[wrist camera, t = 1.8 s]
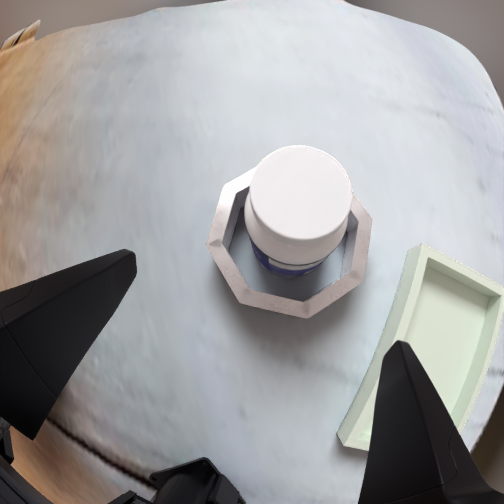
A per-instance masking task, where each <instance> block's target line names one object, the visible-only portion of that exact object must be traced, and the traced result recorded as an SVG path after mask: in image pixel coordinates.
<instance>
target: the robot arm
mask: <svg viewBox="0 0 504 504" xmlns="http://www.w3.org/2000/svg"><path fill="white" fill-rule="evenodd" d="M136 274H137V266H136V255H135V253H134V252H132V251H130V250H127V249H122V250H119V251H116V252H113V253H110V254H107V255H104V256H101V257H98V258H95V259H92V260H89V261H86V262H83V263H80V264H77V265H75V266H72V267H69V268H66V269H63V270H61V271H58V272H55V273H52V274H50V275H47V276H44V277H41V278H39V279H37V280H33V281H31V282H28V283H25V284H23V285H20V286H17V287H14V288H11V289H8V290H5V291H1V292H0V504H53V503H52V502H51V501H49V500H48V499H47V498H46V497H45V496H43V495H42V494H41V493H40V492H39V491H37V490H36V489H35V488H34V487H33V486H32V485H31V484H29V483H28V482H27V481H26V480H25V479H24V478H23V477H22V476H21V475H20V474H19V473H18V472H17V471H16V470H15V469H14V468H13V467H12V466H11V463H12V462H13V460H14V455H13V449H12V443H11V436H10V430H9V428H10V426H11V425H12V426H13V427H14V428H15V429H17V430H18V431H19V432H21V433H22V434H24V435H25V436H26V437H28V438H29V439H31V440H32V441H33V440H34V438H35V437H36V435H37V433H38V431H39V429H40V428H41V426H42V424H43V422H44V420H45V419H46V417H47V415H48V414H49V412H50V410H51V408H52V407H53V405H54V403H55V402H56V400H57V398H58V396H59V395H60V393H61V391H62V390H63V388H64V387H65V385H66V383H67V382H68V380H69V379H70V377H71V375H72V374H73V372H74V371H75V369H76V368H77V366H78V365H79V363H80V362H81V360H82V359H83V357H84V356H85V354H86V353H87V351H88V350H89V348H90V347H91V345H92V344H93V342H94V341H95V339H96V338H97V336H98V335H99V334H100V332H101V331H102V329H103V328H104V326H105V325H106V324H107V322H108V321H109V319H110V318H111V317H112V315H113V314H114V312H115V311H116V309H117V308H118V306H119V304H120V303H121V301H122V299H123V297H124V296H125V294H126V292H127V291H128V289H129V287H130V286H131V284H132V282H133V281H134V279H135V277H136ZM202 462H206V463H207V464H203V463H202ZM154 477H155V478H157V479H155V478H154ZM149 478H150V480H151V481H152V482H153V484H154V485H155V486H156V487H157V488H158V491H157V492H156V494H155V495H154V496H153V498H152V499H151V501H148V500H146V499H144V498H142V497H140V496H138V495H137V493H135V492H133V491H131V490H129V491H128V492H127V493H125V494H122V495H120V496H119V497H117V498H116V499H114V500H113V501H111V502H110V503H108V504H238V503H241V504H246V502H245V501H244V500H243V499H242V497H241V496H240V495H239V492H238V491H237V489H236V488H235V487H234V486H233V485H232V484H231V483H230V481H229V480H228V479H227V478H226V477H225V476H224V475H223V474H221V473H220V472H219V471H218V470H217V468H216V467H215V466H214V465H213V463H212V462H211V461H210V460H209V459H208V458H205V457H202V458H199V459H196V460H193V461H191V462H188V463H185V464H182V465H178V466H175V467H172V468H169V469H165V470H162V471H158V472H155V473H152V474H151V475H150V477H149ZM358 504H504V494H503V493H500V492H498V491H496V490H494V489H493V488H491V487H490V486H489V485H488V484H487V483H486V481H485V480H484V478H483V476H482V474H481V473H480V471H479V469H478V467H477V465H476V464H475V462H474V460H473V458H472V456H471V455H470V453H469V451H468V449H467V447H466V446H465V444H464V442H463V440H462V438H461V436H460V434H459V432H458V430H457V428H456V426H455V425H454V422H453V420H452V418H451V416H450V414H449V412H448V410H447V408H446V407H445V405H444V403H443V401H442V399H441V397H440V395H439V394H438V392H437V390H436V388H435V386H434V385H433V383H432V381H431V379H430V378H429V376H428V374H427V372H426V371H425V369H424V367H423V366H422V364H421V362H420V361H419V359H418V357H417V356H416V354H415V352H414V351H413V349H412V347H411V346H410V344H409V343H408V342H405V341H401V340H397V341H395V343H394V344H393V345H392V346H391V347H390V349H389V350H388V351H387V352H386V354H385V355H384V357H383V360H382V366H381V372H380V377H379V383H378V388H377V393H376V399H375V406H374V416H373V424H372V432H371V439H370V446H369V452H368V458H367V463H366V469H365V474H364V479H363V484H362V488H361V493H360V497H359V501H358Z"/></svg>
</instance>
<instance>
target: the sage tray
mask: <svg viewBox="0 0 504 504" xmlns="http://www.w3.org/2000/svg"><path fill="white" fill-rule="evenodd" d="M503 313H504V287H502V286H500V285H499V284H497V283H495V282H494V281H492V280H490V279H489V278H487V277H485V276H483V275H482V274H480V273H478V272H476V271H474V270H473V269H471V268H469V267H467V266H465V265H464V264H462V263H460V262H458V261H456V260H454V259H452V258H450V257H449V256H447V255H445V254H443V253H441V252H439V251H437V250H435V249H433V248H431V247H429V246H427V245H425V244H423V243H421V244H419V245H417V246H415V247H413V248H411V249H409V250H408V253H407V257H406V261H405V265H404V268H403V272H402V275H401V279H400V282H399V286H398V289H397V292H396V295H395V299H394V302H393V305H392V308H391V311H390V314H389V317H388V319H387V322H386V325H385V328H384V331H383V333H382V336H381V339H380V341H379V344H378V346H377V349H376V351H375V354H374V356H373V359H372V361H371V363H370V366H369V368H368V370H367V373H366V375H365V377H364V379H363V382H362V384H361V386H360V388H359V390H358V392H357V394H356V396H355V399H354V401H353V403H352V405H351V407H350V409H349V411H348V413H347V414H346V416H345V418H344V420H343V422H342V424H341V426H340V428H339V429H338V431H337V435H338V437H339V438H340V440H341V442H342V444H343V446H347V447H352V448H357V449H361V450H367V451H369V446H370V439H371V432H372V424H373V416H374V406H375V399H376V393H377V388H378V383H379V377H380V372H381V366H382V360H383V357H384V355H385V354H386V352H387V351H388V350H389V349H390V347H391V346H392V345H393V344H394V343H395V341H397V340H401V341H405V342H408V343H409V344H410V346H411V347H412V349H413V351H414V352H415V354H416V356H417V357H418V359H419V361H420V362H421V364H422V366H423V367H424V369H425V371H426V372H427V374H428V376H429V378H430V379H431V381H432V383H433V385H434V386H435V388H436V390H437V392H438V394H439V395H440V397H441V399H442V401H443V403H444V405H445V407H446V408H447V410H448V412H449V414H450V416H451V418H452V420H453V422H454V425H455V426H456V428H457V430H458V432H459V434H461V432H462V430H463V428H464V426H465V424H466V422H467V420H468V417H469V415H470V413H471V411H472V409H473V406H474V404H475V402H476V399H477V397H478V395H479V392H480V390H481V387H482V384H483V382H484V379H485V376H486V373H487V371H488V368H489V365H490V362H491V358H492V355H493V352H494V349H495V345H496V341H497V338H498V334H499V330H500V326H501V322H502V317H503Z"/></svg>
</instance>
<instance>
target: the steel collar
mask: <svg viewBox="0 0 504 504" xmlns="http://www.w3.org/2000/svg"><path fill="white" fill-rule="evenodd" d="M255 169H256V168H254V169H252V170H251V171H249V172H247V173H245V174H243V175H242V176H240V177H238V178H236V179H234V180H233V181H231V182H229V183H227V184H226V185H224V186H223V190H222V193H221V196H220V199H219V203H218V206H217V209H216V213H215V216H214V219H213V223H212V226H211V230H210V233H209V237H208V240H207V244H206V245H207V248H208V250H209V251H210V253H211V255H212V257H213V258H214V260H215V262H216V264H217V265H218V267H219V269H220V270H221V272H222V274H223V276H224V277H225V279H226V281H227V282H228V284H229V286H230V288H231V289H232V291H233V293H234V294H235V296H236V298H237V299H238V301H239V303H241V304H245V305H249V306H253V307H257V308H262V309H266V310H270V311H274V312H278V313H283V314H287V315H292V316H296V317H301V318H305V319H308V318H310V317H312V316H313V315H315V314H316V313H318V312H319V311H321V310H322V309H324V308H325V307H327V306H328V305H330V304H331V303H333V302H334V301H336V300H337V299H339V298H340V297H342V296H343V295H345V294H346V293H347V292H349V291H350V290H352V289H353V288H355V287H356V286H357V285H359V284H360V283H362V282H363V279H364V274H365V268H366V262H367V255H368V248H369V241H370V234H371V226H372V218H371V217H370V215H369V214H368V212H367V211H366V209H365V208H364V206H363V205H362V204H361V202H360V201H359V199H358V198H357V197H356V195H355V194H354V193H353V191H352V193H353V198H352V206H351V209H350V212H349V214H348V222H347V227H346V231H347V232H348V235H347V242H346V248H345V254H344V259H343V265H342V270H341V275H340V278H339V279H337V280H336V281H334V282H333V283H331V284H330V285H328V286H327V287H325V288H324V289H322V290H321V291H319V292H318V293H316V294H315V295H313V296H312V297H310V298H308V299H307V300H305V301H304V302H301V301H296V300H292V299H288V298H283V297H279V296H275V295H270V294H266V293H262V292H258V291H254V290H251V289H250V287H249V286H248V284H247V282H246V281H245V279H244V277H243V276H242V274H241V272H240V271H239V269H238V267H237V266H236V264H235V262H234V261H233V259H232V257H231V256H230V254H229V252H228V251H229V247H230V244H231V240H232V236H233V233H234V229H235V225H236V222H237V218H238V214H239V211H240V208H242V207H243V206H245V202H246V198H247V196H248V193H249V187H250V181H251V178H252V175H253V173H254V171H255Z"/></svg>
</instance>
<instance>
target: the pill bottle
mask: <svg viewBox="0 0 504 504" xmlns="http://www.w3.org/2000/svg"><path fill="white" fill-rule="evenodd" d="M352 198H353V193H352V186H351V182H350V179H349V177H348V175H347V173H346V171H345V170H344V168H343V167H342V166H341V164H340V163H339V162H338V161H337V160H336V159H335V158H333V157H332V156H331V155H329V154H328V153H326V152H324V151H322V150H319V149H317V148H314V147H309V146H303V145H296V146H287V147H283V148H280V149H278V150H276V151H274V152H272V153H270V154H269V155H267V156H266V157H265V158H264V159H263V160H262V161H261V162H260V163H259V164H258V166H257V167H256V169H255V171H254V173H253V175H252V178H251V181H250V187H249V193H248V196H247V198H246V202H245V210H244V215H245V223H246V228H247V231H248V234H249V237H250V240H251V244H252V247H253V250H254V253H255V255H256V257H257V259H258V261H259V262H260V264H261V265H262V266H263V267H264V268H265V269H267V270H268V271H270V272H271V273H273V274H275V275H278V276H281V277H287V278H293V277H300V276H303V275H306V274H308V273H310V272H311V271H313V270H314V269H315V268H317V267H318V266H319V265H320V264H321V263H322V262H323V261H324V260H325V259H326V258H327V257H328V256H329V255H330V254H331V253H332V252H333V251H334V250H335V249H336V247H337V246H338V245H339V243H340V242H341V240H342V238H343V236H344V234H345V231H346V227H347V222H348V214H349V212H350V209H351V206H352Z"/></svg>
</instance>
